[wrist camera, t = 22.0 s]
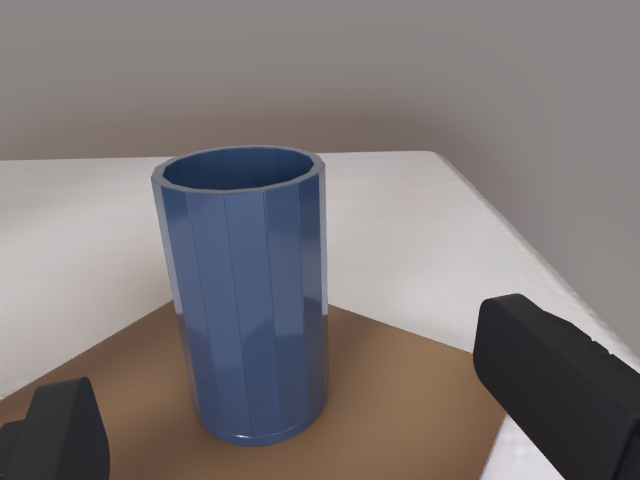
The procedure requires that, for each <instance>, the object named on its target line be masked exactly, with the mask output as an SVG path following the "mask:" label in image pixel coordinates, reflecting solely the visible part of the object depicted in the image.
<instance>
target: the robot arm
mask: <svg viewBox="0 0 640 480" xmlns="http://www.w3.org/2000/svg"><path fill="white" fill-rule="evenodd" d="M473 364H474V368H475V372H476V374H477V376H478V378H479V380H480V382H481V383H482V384H483V386H484V387H485V388H486V389H487V390H488V391H489V392H490V394H491V395H492V396H493V397H494V398H495V399H496V401H497V402H498V403H499V404H500V405H501V406H502V407H503V409H504V410H505V411H506V412H507V413H508V414H509V415H510V417H511V418H512V419H513V420H514V421H515V422H516V424H517V425H518V426H519V427H520V428H521V429H522V430H523V432H524V433H525V434H526V435H527V436H528V437H529V439H530V440H531V441H532V442H533V443H534V444H535V445H536V447H537V448H538V449H539V450H540V451H541V452H542V454H543V455H544V456H545V457H546V458H547V459H548V460H549V462H550V463H551V464H552V465H553V466H554V467H555V469H556V470H557V471H558V472H559V473H560V474H561V475H562V477H563V478H564V479H565V480H640V374H639V373H638V372H636V371H635V370H634V369H632V368H631V367H630V366H628V365H627V364H626V363H624V362H623V361H622V360H620V359H619V358H618V357H616V356H615V355H614V354H611V355H610V354H609V352H608V350H607V349H606V348H604V347H603V346H602V345H600V344H599V343H597V342H596V341H592V340H591V337H589V336H588V335H587V334H585V333H584V332H583V331H581V330H580V329H579V328H577V327H576V326H575V325H573V324H572V323H571V322H568V321H566V320H564V319H562V318H559V317H557V316H555V315H553V314H551V313H548V312H546V311H543V310H542V309H541V308H539V307H538V306H537V305H535V304H534V303H533V302H532V301H530V300H529V299H528V298H526V297H525V296H523V295H521V294H518V293H516V294H510V295H505V296H500V297H495V298H490V299H486V300H484V301H483V302H482V304H481V306H480V311H479V318H478V324H477V331H476V338H475V344H474V351H473ZM109 476H110V449H109V442H108V438H107V434H106V431H105V428H104V424H103V421H102V418H101V414H100V411H99V408H98V404H97V401H96V398H95V394H94V391H93V388H92V385H91V382H90V380H89V378H88V377H86V376H84V377H79V378H74V379H69V380H64V381H59V382H54V383H48V384H43V385H39V386H38V387H37V389H36V390H35V393H34V395H33V398H32V401H31V403H30V406H29V409H28V411H27V414H26V417H25V419H23V420H18V421H13V422H9V423H5V424H4V425H3V426H2V427H1V428H0V480H109Z"/></svg>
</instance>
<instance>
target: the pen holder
mask: <svg viewBox="0 0 640 480" xmlns="http://www.w3.org/2000/svg"><path fill="white" fill-rule="evenodd" d="M151 183H152V188H153V193H154V199H155V204H156V209H157V215H158V220H159V225H160V231H161V236H162V242H163V247H164V252H165V258H166V263H167V268H168V274H169V279H170V284H171V290H172V295H173V301H174V306H175V311H176V317H177V322H178V327H179V333H180V338H181V343H182V349H183V354H184V359H185V365H186V370H187V376H188V381H189V386H190V392H191V397H192V402H193V404H194V406H195V411H196V415H197V417H198V420H199V422H200V423H201V424H202V426H203V427H204V428H205V429H206V430H207V431H208V432H209V433H210V434H212V435H213V436H214V437H216V438H218V439H220V440H222V441H225V442H227V443H230V444H235V445H239V446H265V445H271V444H276V443H279V442H282V441H285V440H288V439H290V438H292V437H294V436H296V435H298V434H300V433H301V432H303V431H304V430H306V429H307V428H308V427H309V426H311V425H312V424H313V423H314V422H315V421H316V420H317V418H318V417H319V416H320V414H321V413H322V411H323V409H324V407H325V405H326V402H327V398H328V384H329V344H328V291H327V239H326V186H325V163H324V162H323V161H322V159H321V158H320V157H319V156H318V155H316V154H313V153H310V152H308V151H305V150H303V149H297V148H291V147H283V146H271V145H244V146H229V147H219V148H213V149H207V150H201V151H196V152H192V153H188V154H185V155H182V156H178V157H175V158H172V159H170V160H168V161H166V162H164V163H162V164H161V165H159V166H157V167H156V168H155V169H154V171H153V173H152V176H151Z"/></svg>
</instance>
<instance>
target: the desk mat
mask: <svg viewBox="0 0 640 480" xmlns="http://www.w3.org/2000/svg"><path fill="white" fill-rule="evenodd" d="M328 344H329V384H328V398H327V402H326V405H325V407H324V409H323V411H322V413H321V414H320V416H319V417H318V418H317V420H316V421H315V422H314V423H313V424H312V425H311V426H309V427H308V428H307V429H306V430H304V431H303V432H301V433H300V434H298V435H296V436H294V437H292V438H290V439H288V440H285V441H282V442H279V443H276V444H271V445H265V446H239V445H235V444H230V443H227V442H225V441H222V440H220V439H218V438H216V437H214V436H213V435H212V434H210V433H209V432H208V431H207V430H206V429H205V428H204V427H203V426H202V424H201V423H200V422H199V420H198V417H197V415H196V411H195V406H194V404H193V402H192V397H191V392H190V386H189V381H188V376H187V370H186V365H185V359H184V354H183V349H182V343H181V338H180V333H179V327H178V322H177V317H176V311H175V306H174V301H173V300H172V301H170V302H169V303H167V304H165V305H164V306H162V307H160V308H158V309H157V310H155V311H153V312H152V313H150V314H148V315H146V316H145V317H143V318H141V319H140V320H138V321H136V322H134V323H133V324H131V325H129V326H128V327H126V328H124V329H123V330H121V331H119V332H117V333H116V334H114V335H112V336H111V337H109V338H107V339H105V340H104V341H102V342H100V343H99V344H97V345H95V346H93V347H92V348H90V349H88V350H87V351H85V352H83V353H81V354H80V355H78V356H76V357H75V358H73V359H71V360H70V361H68V362H66V363H64V364H63V365H61V366H59V367H58V368H56V369H54V370H52V371H51V372H49V373H47V374H46V375H44V376H42V377H40V378H39V379H37V380H35V381H34V382H32V383H30V384H28V385H27V386H25V387H23V388H22V389H20V390H18V391H16V392H15V393H13V394H11V395H10V396H8V397H6V398H5V399H3V400H1V401H0V428H1V427H2V426H3V425H4V424H5V423H9V422H13V421H18V420H23V419H25V417H26V414H27V411H28V409H29V406H30V403H31V401H32V398H33V395H34V393H35V390H36V389H37V387H38V386H39V385H43V384H48V383H54V382H59V381H64V380H69V379H74V378H79V377H84V376H86V377H88V378H89V380H90V382H91V385H92V388H93V391H94V394H95V398H96V401H97V404H98V408H99V411H100V414H101V418H102V421H103V424H104V428H105V431H106V434H107V438H108V442H109V449H110V476H109V480H481V479H482V476H483V474H484V471H485V469H486V466H487V463H488V461H489V458H490V456H491V453H492V451H493V448H494V446H495V443H496V441H497V438H498V435H499V433H500V430H501V428H502V425H503V423H504V420H505V418H506V415H507V412H506V411H505V410H504V409H503V407H502V406H501V405H500V404H499V403H498V402H497V401H496V399H495V398H494V397H493V396H492V395H491V394H490V392H489V391H488V390H487V389H486V388H485V387H484V386H483V384H482V383H481V382H480V380H479V378H478V376H477V374H476V372H475V368H474V364H473V354H472V353H469V352H466V351H463V350H460V349H457V348H454V347H451V346H448V345H446V344H443V343H440V342H437V341H434V340H431V339H428V338H425V337H422V336H420V335H417V334H414V333H411V332H408V331H405V330H402V329H399V328H396V327H393V326H391V325H388V324H385V323H382V322H379V321H376V320H373V319H370V318H367V317H364V316H362V315H359V314H356V313H353V312H350V311H347V310H344V309H341V308H338V307H336V306H333V305H330V304H328Z"/></svg>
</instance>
